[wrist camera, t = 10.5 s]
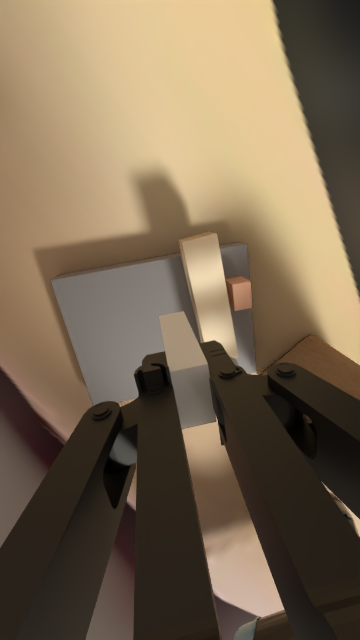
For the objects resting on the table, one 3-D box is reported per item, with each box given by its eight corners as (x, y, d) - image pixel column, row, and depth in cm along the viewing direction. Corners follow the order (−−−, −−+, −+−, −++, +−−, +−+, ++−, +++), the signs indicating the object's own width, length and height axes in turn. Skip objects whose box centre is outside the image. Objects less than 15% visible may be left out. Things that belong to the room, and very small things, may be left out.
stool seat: (248, 361, 40) (265, 384, 34) (97, 393, 38) (89, 423, 33) (238, 241, 34) (257, 246, 28) (58, 275, 32) (40, 287, 27)
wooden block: (256, 374, 41) (352, 504, 22) (310, 330, 39) (460, 429, 21) (292, 411, 44) (401, 551, 26) (342, 371, 43) (497, 489, 24)
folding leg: (232, 361, 36) (241, 376, 32) (206, 369, 36) (213, 384, 32) (208, 231, 30) (216, 233, 26) (177, 239, 30) (181, 242, 26)
